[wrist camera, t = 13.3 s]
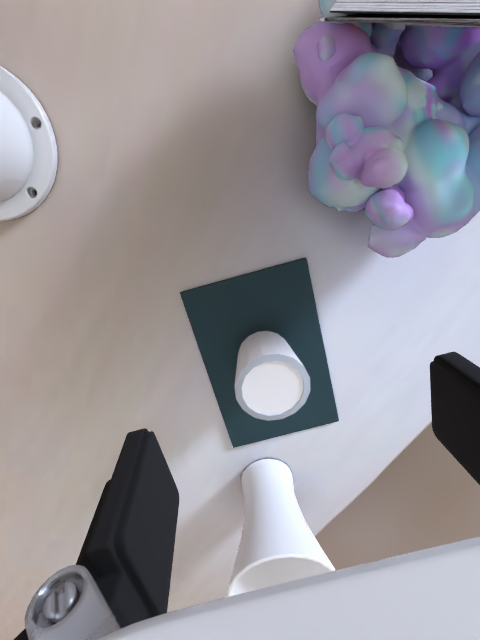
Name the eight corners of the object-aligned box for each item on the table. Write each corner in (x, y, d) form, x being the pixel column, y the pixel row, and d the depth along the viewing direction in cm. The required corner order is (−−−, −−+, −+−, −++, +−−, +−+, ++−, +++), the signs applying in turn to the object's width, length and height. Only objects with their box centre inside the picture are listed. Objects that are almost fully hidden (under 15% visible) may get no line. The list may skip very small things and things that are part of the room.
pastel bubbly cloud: (322, 295, 30) (613, 299, 15) (190, 27, 22) (519, -544, 7) (435, 189, 38) (705, 120, 22) (366, -39, 30) (709, -384, 15)
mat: (233, 445, 41) (233, 447, 41) (180, 292, 34) (179, 293, 34) (337, 419, 40) (339, 421, 40) (305, 257, 34) (306, 258, 33)
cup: (324, 467, 43) (366, 581, 30) (275, 520, 46) (295, 644, 33) (256, 431, 40) (271, 538, 28) (209, 489, 43) (203, 610, 31)
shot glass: (307, 342, 36) (326, 374, 30) (275, 391, 38) (286, 432, 32) (251, 314, 35) (258, 341, 28) (221, 367, 37) (220, 404, 30)
